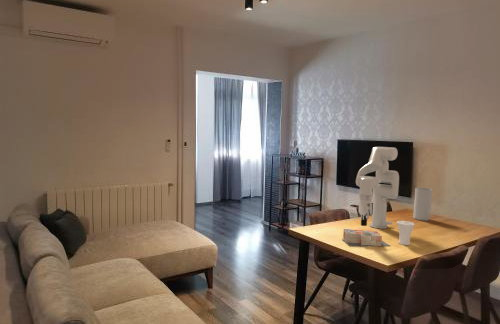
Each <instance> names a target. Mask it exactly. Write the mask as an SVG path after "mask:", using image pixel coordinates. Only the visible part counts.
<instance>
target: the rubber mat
mask: <svg viewBox="0 0 500 324" xmlns="http://www.w3.org/2000/svg"><path fill="white" fill-rule="evenodd" d="M342 242H344V243H345V241H344V239H342ZM345 244H346V245H348V246H349V247H373V246H372V245H361V244H360V243H345ZM380 247H391V245H390V244H388V243H386V242H385V241H384V240H382V241H381V246H380Z"/></svg>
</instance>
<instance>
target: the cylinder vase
mask: <svg viewBox="0 0 500 324" xmlns="http://www.w3.org/2000/svg"><path fill="white" fill-rule="evenodd" d="M432 200H433V189H432V188H428V187H416V188H415V191H414V204H413V214H412V215H413V219H414V220H417V221H424V222H425V221H426V222H427V221H428V222H429V221H430V220H431V214H432V213H431V210H432Z"/></svg>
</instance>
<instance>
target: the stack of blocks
mask: <svg viewBox="0 0 500 324" xmlns="http://www.w3.org/2000/svg"><path fill="white" fill-rule="evenodd" d="M382 237H383V236H382V235H381V234H380V232H379V231H377V230H367V229H350V228H348V229H347V228H344V229H343V235H342V238H343V239H342V240H344V241H345V242H344V241H343V242H344V243H345V244H346V243H360V244H361V245H372V246H371V247H382V246H381V241H383V240H382Z"/></svg>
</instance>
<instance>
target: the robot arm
mask: <svg viewBox="0 0 500 324" xmlns="http://www.w3.org/2000/svg"><path fill="white" fill-rule="evenodd" d="M370 153H371V154H370V157H369V159H368V163H366V164H365V165H363V166H362V167H361V168H360V169H359V170H358V172H357V174H356V178H355V184H356V186H358V187H359V198H358V199H359V202H358V213H359V215H360V226H362V227H366V226H367V224H368V219H369V218H370V217H371V216H372V218H371V222H370V223H369V227H372V228H375V229H381V230H382V229H383V230H384V229H387V228H388V225H392V224H393V222H392V221H387V207H388V203H387V200H386V199H392V200H395V199H397V198H398V196H399V186H400V175H399V172H398V171H397V170H389V167H390V166H389V165H390V164H389V161H391V162H392V161H394V160H396V159H397V157H398V154H399V153H398V149H397V148H396V147H392V146H391V147H388V146H374V147H372V149H371V152H370ZM374 172H375V176H370V175H367V174H370V173H374ZM382 183H383V184H382ZM372 197H373V198H372ZM372 201H373V202H372Z"/></svg>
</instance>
